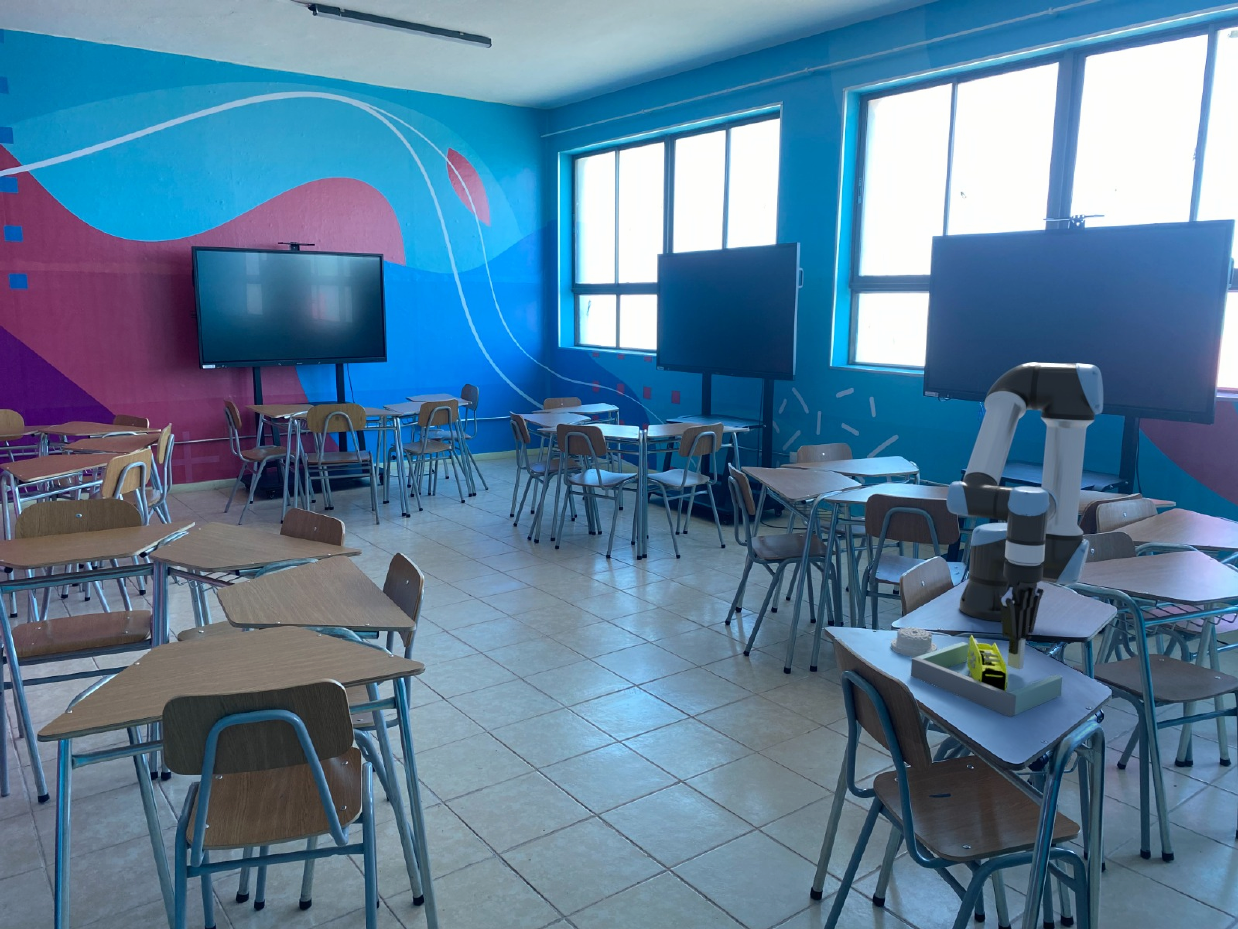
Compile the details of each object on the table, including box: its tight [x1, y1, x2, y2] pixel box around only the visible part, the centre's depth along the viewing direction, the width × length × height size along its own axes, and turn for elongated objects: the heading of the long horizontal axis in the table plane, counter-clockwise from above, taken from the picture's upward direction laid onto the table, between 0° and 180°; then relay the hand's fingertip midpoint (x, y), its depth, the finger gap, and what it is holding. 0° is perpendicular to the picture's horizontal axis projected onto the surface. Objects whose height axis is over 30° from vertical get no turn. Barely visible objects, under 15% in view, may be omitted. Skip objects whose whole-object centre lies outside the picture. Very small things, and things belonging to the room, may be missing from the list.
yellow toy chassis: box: [967, 634, 1008, 692], centre depth 181 cm, size 16×6×8 cm, turn 166°
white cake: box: [890, 626, 938, 658], centre depth 200 cm, size 10×4×10 cm
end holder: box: [910, 641, 1064, 718], centre depth 180 cm, size 18×23×4 cm
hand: (1015, 666), depth 186 cm, fingers closed
